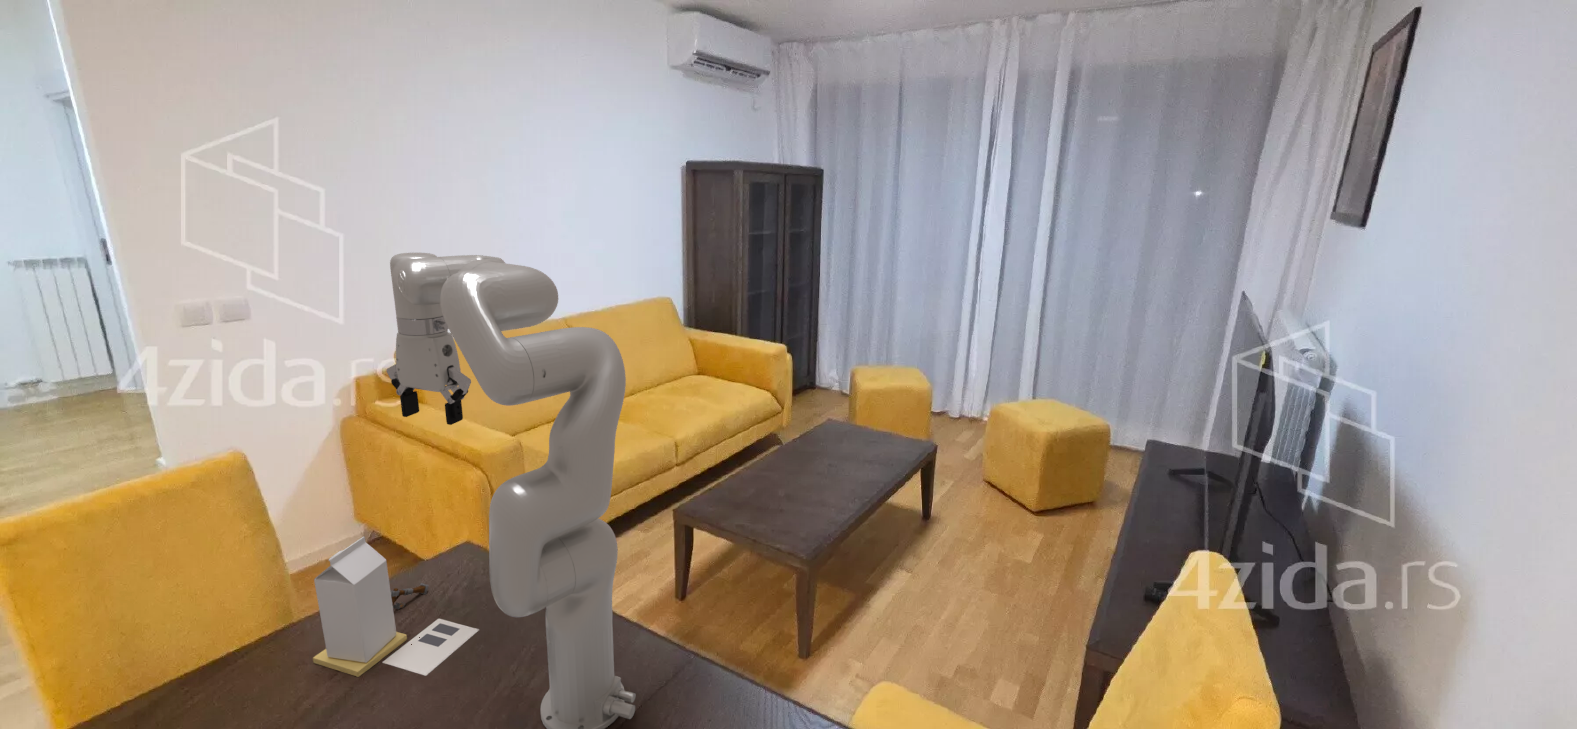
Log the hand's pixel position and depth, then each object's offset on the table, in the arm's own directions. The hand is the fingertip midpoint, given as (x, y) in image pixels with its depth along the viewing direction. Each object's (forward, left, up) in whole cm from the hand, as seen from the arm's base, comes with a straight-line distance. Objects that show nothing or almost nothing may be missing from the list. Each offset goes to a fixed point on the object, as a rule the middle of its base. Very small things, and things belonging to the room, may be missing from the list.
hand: (432, 418), depth 117 cm
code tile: (-8, +13, -36) cm, 39 cm away
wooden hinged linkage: (+5, +5, -37) cm, 37 cm away
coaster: (+2, +18, -36) cm, 41 cm away
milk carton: (+1, +18, -36) cm, 40 cm away
